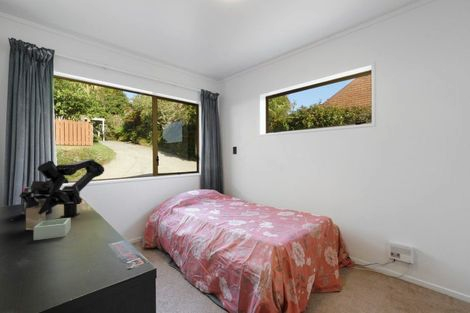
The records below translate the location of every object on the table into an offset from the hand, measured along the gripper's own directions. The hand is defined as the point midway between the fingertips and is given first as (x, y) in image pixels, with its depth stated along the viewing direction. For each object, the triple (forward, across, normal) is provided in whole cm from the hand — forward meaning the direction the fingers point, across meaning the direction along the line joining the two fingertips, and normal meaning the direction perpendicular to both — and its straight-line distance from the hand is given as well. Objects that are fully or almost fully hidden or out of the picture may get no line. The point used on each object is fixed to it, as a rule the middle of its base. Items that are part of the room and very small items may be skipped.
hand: (33, 213), depth 95 cm
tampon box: (-13, -21, +23) cm, 34 cm away
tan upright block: (+4, 0, +6) cm, 7 cm away
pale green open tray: (+9, +14, 0) cm, 16 cm away
